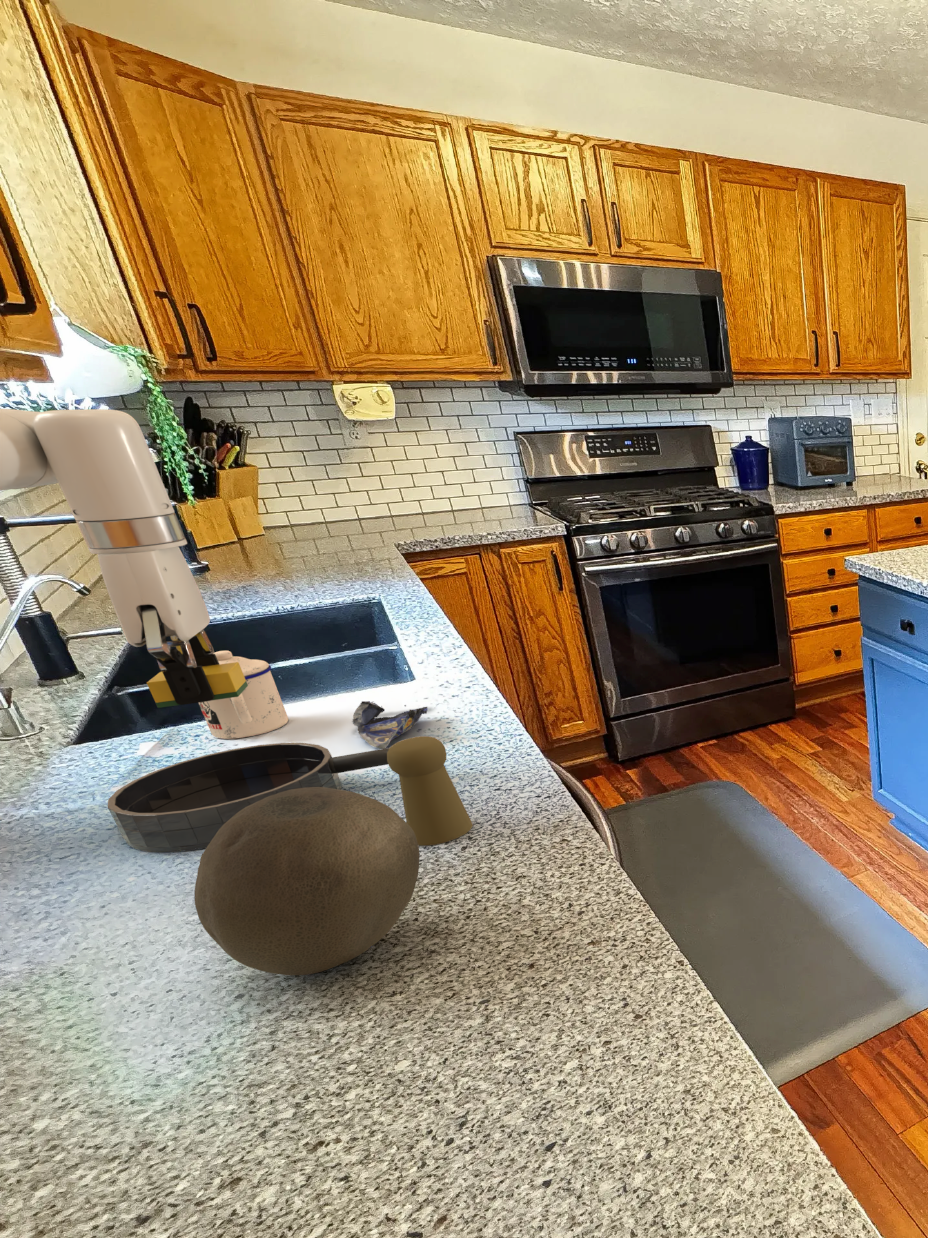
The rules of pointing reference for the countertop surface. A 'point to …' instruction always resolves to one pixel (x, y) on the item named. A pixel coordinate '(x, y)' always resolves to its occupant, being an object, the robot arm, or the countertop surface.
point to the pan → (212, 793)
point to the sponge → (220, 677)
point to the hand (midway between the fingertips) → (203, 693)
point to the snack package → (383, 723)
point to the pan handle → (358, 761)
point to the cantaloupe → (306, 879)
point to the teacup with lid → (246, 703)
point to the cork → (428, 791)
